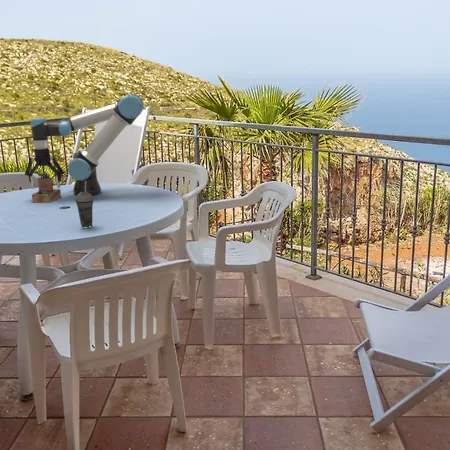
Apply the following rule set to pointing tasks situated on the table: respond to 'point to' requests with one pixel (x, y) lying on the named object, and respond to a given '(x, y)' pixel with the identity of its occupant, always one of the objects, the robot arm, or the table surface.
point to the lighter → (45, 183)
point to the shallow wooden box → (46, 196)
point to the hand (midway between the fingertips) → (46, 188)
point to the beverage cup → (85, 207)
